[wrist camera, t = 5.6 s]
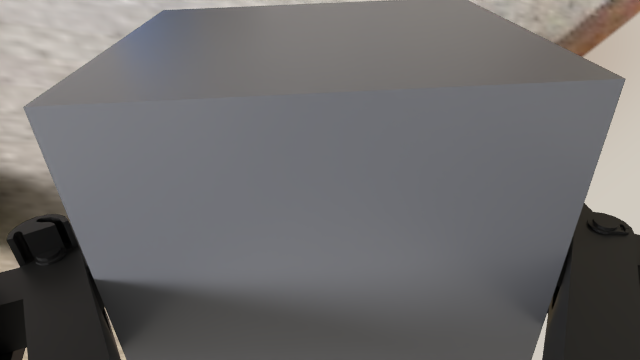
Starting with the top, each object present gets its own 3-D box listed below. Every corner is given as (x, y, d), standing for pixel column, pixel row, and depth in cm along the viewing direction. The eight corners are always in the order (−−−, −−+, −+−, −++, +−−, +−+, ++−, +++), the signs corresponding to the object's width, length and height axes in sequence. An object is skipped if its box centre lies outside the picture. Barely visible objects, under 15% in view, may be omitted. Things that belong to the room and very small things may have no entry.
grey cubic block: (163, 10, 15) (23, 107, 7) (461, -3, 15) (625, 78, 7) (212, 244, 20) (159, 440, 13) (432, 232, 20) (511, 420, 13)
